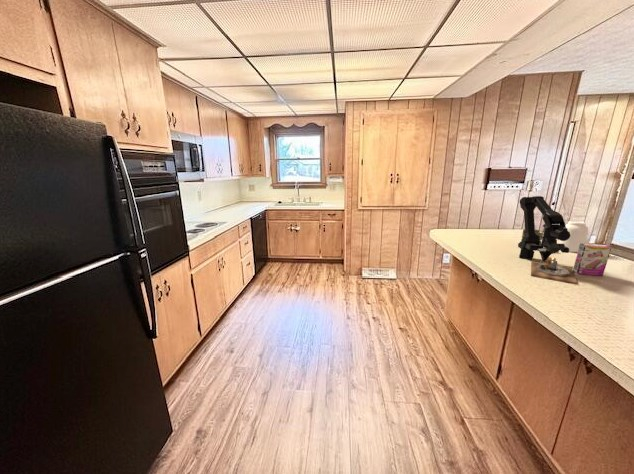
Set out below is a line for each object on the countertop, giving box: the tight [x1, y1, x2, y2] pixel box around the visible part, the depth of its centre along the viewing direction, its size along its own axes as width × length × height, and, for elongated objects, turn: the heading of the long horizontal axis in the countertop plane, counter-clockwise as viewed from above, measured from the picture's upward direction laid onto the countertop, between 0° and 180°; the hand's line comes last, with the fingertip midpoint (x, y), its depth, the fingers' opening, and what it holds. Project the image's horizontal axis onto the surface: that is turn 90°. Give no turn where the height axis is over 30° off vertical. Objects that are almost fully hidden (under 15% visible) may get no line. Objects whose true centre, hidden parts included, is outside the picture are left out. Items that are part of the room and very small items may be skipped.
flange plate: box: [536, 256, 570, 276], centre depth 148 cm, size 18×13×4 cm
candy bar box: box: [572, 243, 612, 277], centre depth 143 cm, size 11×5×16 cm, turn 71°
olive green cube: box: [520, 228, 544, 246], centre depth 191 cm, size 11×12×11 cm
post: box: [550, 260, 558, 271], centre depth 146 cm, size 2×2×7 cm
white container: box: [558, 220, 589, 253], centre depth 182 cm, size 12×12×20 cm
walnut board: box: [530, 261, 578, 285], centre depth 147 cm, size 18×24×1 cm
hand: (543, 261), depth 155 cm, fingers closed
